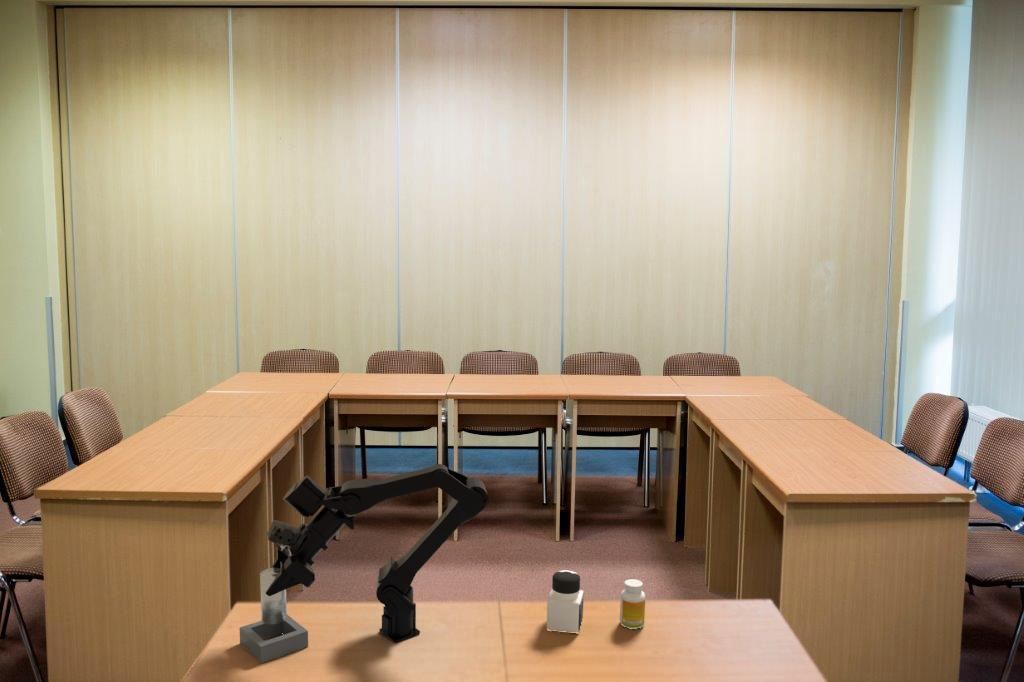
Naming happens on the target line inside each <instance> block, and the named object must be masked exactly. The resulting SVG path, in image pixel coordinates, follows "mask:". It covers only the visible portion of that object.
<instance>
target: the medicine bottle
mask: <svg viewBox="0 0 1024 682" xmlns="http://www.w3.org/2000/svg"><path fill="white" fill-rule="evenodd" d="M551 582H552V583H551V584H552V585H551V590H550V593H549V595H548V599H547V602H546V603H547V604H546V630H547V629H549V630H556V631H566V632H579V631H580V632H581V628H580V626H581V627H582V624H581V622H582V623H583V620H584V596H585V594H584V590H582V589H581V576H580V575H579V573H577V572H575V571H572V570H567V569H566V570H565V569H563V570H558V571H556V572H554V574H553V575H552V581H551ZM582 619H583V620H582ZM580 632H579V633H580Z"/></svg>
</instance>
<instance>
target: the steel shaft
mask: <svg viewBox="0 0 1024 682" xmlns="http://www.w3.org/2000/svg"><path fill="white" fill-rule="evenodd" d="M280 571H281V568H271V567H270V568H266V569H265V568H264V569H263V570H261V571H260V573H259V581H260V582H259V583H260V585H259V586H260V587H259V588H260V608H261V609H260V611H261V614H260V615H261V617H260V618H261V621H262V622H263V623H265V624H278V623H281V622H283V621H285V620H286V619H287V615H288V613H287V611H288V610H287V589H285V590H283V591H281V592H278V593H276V594H274V595H272V596H268V595H267V594H266V591H267V590H268V588H269V587H270V585H271V584H272V582H273V581H274V580H275V578H276V577H277V575H278V574H279V573H280Z"/></svg>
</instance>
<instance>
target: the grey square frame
mask: <svg viewBox="0 0 1024 682" xmlns="http://www.w3.org/2000/svg"><path fill="white" fill-rule="evenodd" d="M281 633H283V634H284V635H283V634H282V635H281ZM278 634H279V635H280V636H279V635H278ZM275 635H276V636H277V637H276V636H275ZM272 636H273V637H274V638H273V637H272ZM269 637H270V638H269ZM266 638H267V639H266ZM263 639H264V640H263ZM239 644H240V645H241V646H242V647H243V648H244V649H245V648H246V649H245V650H247V651H248V652H249V654H250V655H252V656H253V657H254V658H255V659H256V660H257V661H258V662H259V663H260V664H263V663H265V662H269V661H271V660H274V659H277V658H280V657H284V656H287V655H290V654H292V653H295V652H298V651H300V649H301V650H303V648H304V649H306V648H305V647H307V648H308V647H309V631H308V629H306V628H305V627H304V626H302V625H300V624H299V622H297V621H296V620H295V619H293V617H291V616H290V615H288V614H287V619H286V620H285V621H283V622H281V623H278V624H265V623H263V622H262V620H259V621H257V622H253V623H250V624H245V625H242V626H240V627H239ZM297 650H298V651H297ZM286 654H287V655H286Z"/></svg>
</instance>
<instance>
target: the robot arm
mask: <svg viewBox="0 0 1024 682" xmlns="http://www.w3.org/2000/svg"><path fill="white" fill-rule="evenodd" d="M434 488H438V489H440V490H441V491H443V492H445V494H447V495H448V496H450V497H451V500H450V501H449V504H448V506H447V508H446V509H445V511H444V512H443V513H442V514H441V515H440V516H439V517H438V518H437V519H436V521H434V522H433V524H431V526H430V527H429V528H428V529H427V530H426V532H424V534H423V535H422V536H421V537H420V538H419V539H418V540H417V541H416V542H415V544H413V546H412V547H411V548H410V549H409V550H408V551H407V553H405V555H403V557H401V558H398V559H396V560H395V559H394V558H393V557H392V556H391V557H390V558H389V559H388V560H387V562H386V563H385V564H384V566H382V567H380V568H379V569H378V575H377V579H376V590H375V591H376V593H375V594H376V599H377V600H378V602H379V603H381V604H382V605H383V609H382V610H383V614H382V615H381V628H379V630H378V631H379V633H381V635H383V636H385V637H387V639H389V640H391V641H392V642H394V643H399V642H401V641H403V640H406V639H409V638H412V637H415V636H417V635H420V633H421V631H420V630H419V629H418V628H417V621H416V619H417V618H416V617H417V613H416V612H417V604H416V602H414V586H412V583H413V582H414V581H413V580H414V579H415V577H416V575H417V573H418V572H419V571H420V569H422V568H423V567H424V566H425V564H427V562H428V561H429V560H430V559H431V558H432V557H433V556H434V554H435V553H437V551H438V550H439V549H440V548H441V547H442V546H443V545H444V543H446V542H447V540H448V539H449V538H450V537H451V536H452V535H453V533H455V531H456V530H458V528H459V527H460V526H461V525H463V524H464V523H467V522H468V521H470V520H472V519H474V518H475V517H476V516H478V515H479V514H480V513H481V512H482V511H484V510H485V509H486V507H487V505H488V504H489V495H488V492H487V489H486V486H485V483H484V482H483V481H482V480H480V479H479V478H476V477H468V476H466V475H464V474H463V473H461V472H459V471H455V470H453V469H451V468H449V467H447V466H446V465H444V464H441V463H436V464H434V465H432V466H428V467H425V468H421V469H416V470H413V471H408V472H404V473H400V474H397V475H393V476H387V477H385V478H381V479H379V478H378V479H373V478H359V479H350V480H349V479H348V480H347V481H345V482H344V483H343V484H342V485H337V486H332V487H326V488H325V490H324V489H323V488H322V487H321V486H320V485H319V484H317V483H316V482H315V480H314V479H313V478H312V477H311V476H310V475H308V474H306V475H305V476H304V477H303V478H301V480H299V481H297V482H296V483H294V485H292V487H291V488H290V489H289V490H288V491H287V492H286V493H285V495H284V496H283V499H282V500H283V501H284V502H285V503H287V504H288V505H289V506H290V507H291V508H292V509H293V510H294V511H296V512H297V513H298V514H299V515H300V516H302V518H305V517H306V518H309V517H312V519H311V520H310V521H309V522H308V523H306V522H304V523H301V524H300V525H299V526H295V525H292V524H291V523H287V522H283V521H280V520H277V519H273V520H272V522H271V524H270V527H269V528H268V531H267V533H266V535H267V540H268V541H269V542H271V543H273V544H275V543H277V544H276V546H275V550H276V557H275V560H274V562H272V565H271V567H270V568H281V571H280V573H279V574H278V575H277V577H276V578H275V580H274V581H273V582H272V584H271V585H270V587H269V588H268V590H267V591H266V594H267V595H268V596H272V595H274V594H276V593H278V592H281V591H283V590H285V589H286V590H288V589H290V588H293V587H295V586H298V585H300V584H301V585H304V587H306V588H310V587H311V585H312V584H313V583H314V582H315V581H316V576H315V575H316V574H315V571H314V568H313V567H312V565H314V564H315V561H314V559H315V558H316V556H317V555H319V553H320V552H321V551H322V550H323V551H326V550H327V549H328V548H329V545H328V543H329V542H330V541H331V540H332V539H333V538H334V537H335V536H336V535H337V533H338V532H339V531H340V530H341V529H342V528H343V527H344V526H345V525H346V526H347V527H348V528H349V529H350V530H351V531H352V530H355V516H356V515H359V514H361V513H363V512H366V511H368V510H370V509H372V508H373V507H375V506H376V505H378V504H380V503H381V502H384V501H386V500H391V499H394V498H395V499H396V498H398V497H402V496H406V495H411V494H414V493H419V492H421V491H427V490H431V489H434ZM322 506H323V507H322ZM321 507H322V508H321ZM316 513H317V514H316ZM314 515H315V516H314ZM279 544H280V545H279Z"/></svg>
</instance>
